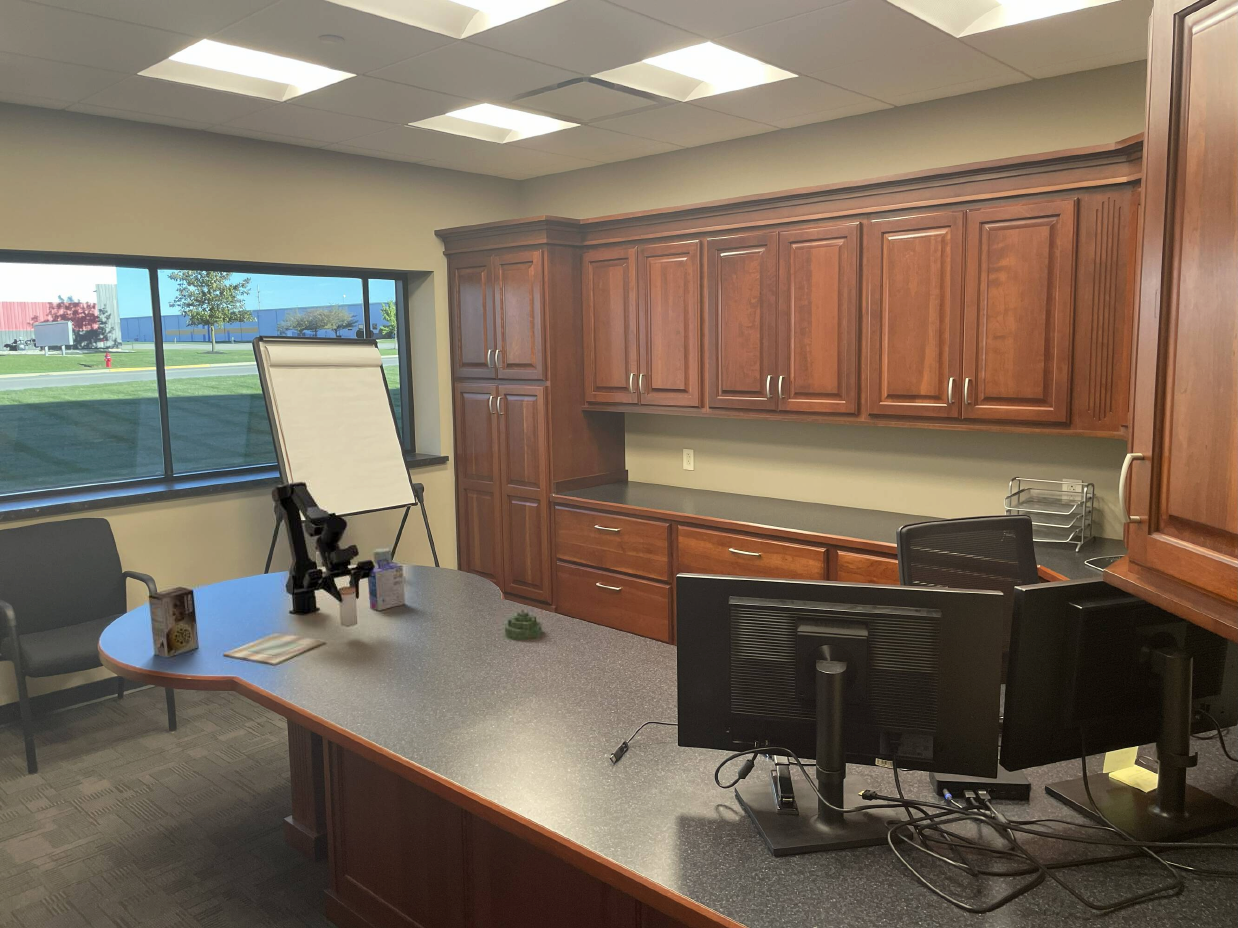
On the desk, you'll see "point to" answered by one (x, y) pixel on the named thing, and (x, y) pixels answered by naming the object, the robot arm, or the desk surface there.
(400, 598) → the ink cartridge box
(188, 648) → the brown food box
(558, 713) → the desk surface
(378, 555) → the air freshener
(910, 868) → the desk surface
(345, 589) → the tube
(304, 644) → the board
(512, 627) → the decorative artifact
